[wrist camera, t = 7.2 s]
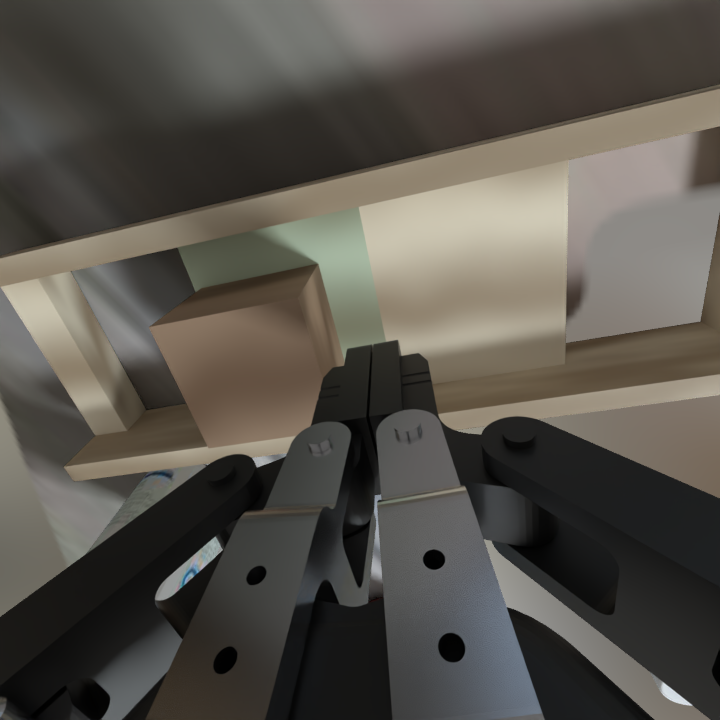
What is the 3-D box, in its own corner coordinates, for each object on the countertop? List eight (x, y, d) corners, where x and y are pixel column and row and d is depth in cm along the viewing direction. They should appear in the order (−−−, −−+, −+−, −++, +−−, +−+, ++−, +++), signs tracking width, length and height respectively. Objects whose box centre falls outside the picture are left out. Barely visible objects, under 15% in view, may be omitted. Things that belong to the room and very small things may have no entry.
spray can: (164, 440, 25) (-374, 1144, 7) (255, 488, 26) (-8, 1172, 9) (128, 499, 28) (-330, 1121, 10) (213, 540, 29) (-55, 1146, 11)
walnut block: (201, 288, 18) (148, 327, 14) (318, 263, 17) (297, 297, 13) (242, 390, 21) (208, 448, 17) (347, 373, 20) (337, 429, 16)
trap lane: (19, 250, 20) (-73, 275, 16) (804, 64, 15) (957, 32, 11) (124, 428, 25) (74, 481, 21) (741, 333, 20) (832, 379, 16)
